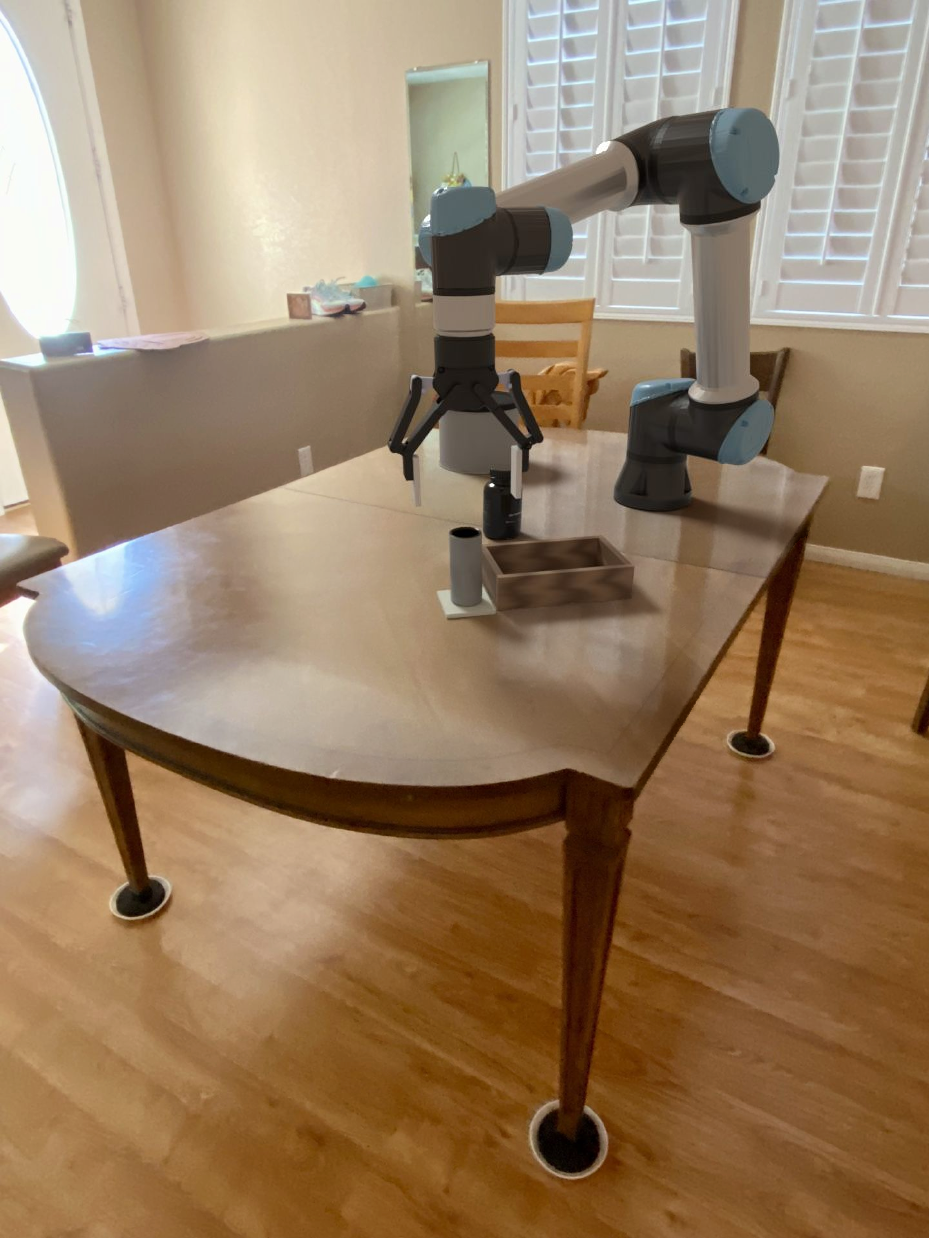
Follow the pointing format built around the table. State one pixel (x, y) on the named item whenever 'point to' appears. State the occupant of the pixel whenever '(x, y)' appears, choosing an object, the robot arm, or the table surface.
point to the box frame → (555, 572)
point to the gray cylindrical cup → (465, 566)
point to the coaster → (464, 611)
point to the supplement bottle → (501, 505)
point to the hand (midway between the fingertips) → (467, 499)
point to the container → (476, 437)
